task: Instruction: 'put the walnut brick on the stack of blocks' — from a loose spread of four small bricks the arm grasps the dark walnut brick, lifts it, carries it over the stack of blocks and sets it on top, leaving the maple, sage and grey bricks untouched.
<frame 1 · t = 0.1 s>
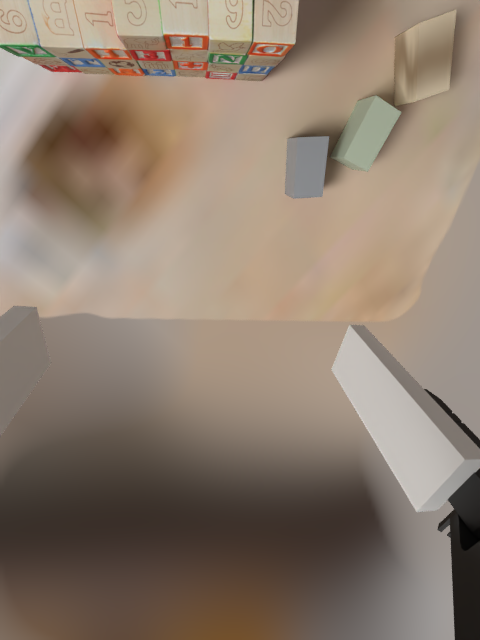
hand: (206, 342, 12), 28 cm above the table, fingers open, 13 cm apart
sage brick: (354, 137, 33), on the table
stack of blocks: (157, 36, 27), on the table
grey brick: (299, 166, 34), on the table
maple brick: (409, 68, 31), on the table
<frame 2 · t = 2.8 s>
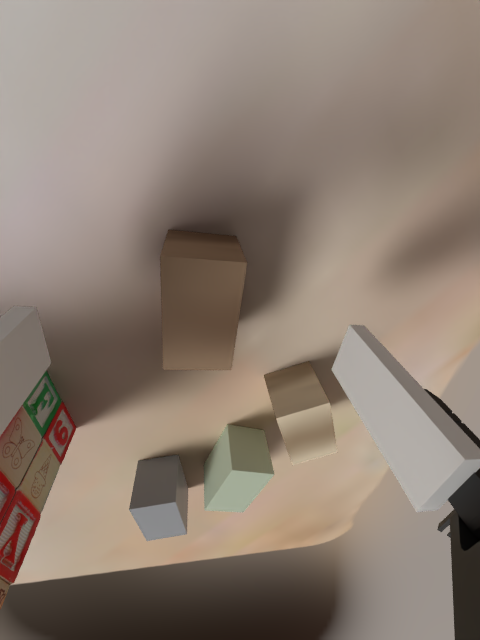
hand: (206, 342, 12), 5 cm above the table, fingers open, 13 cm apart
sage brick: (232, 446, 25), on the table
walnut brick: (199, 284, 16), on the table
grey brick: (165, 474, 26), on the table
maple brick: (292, 392, 22), on the table
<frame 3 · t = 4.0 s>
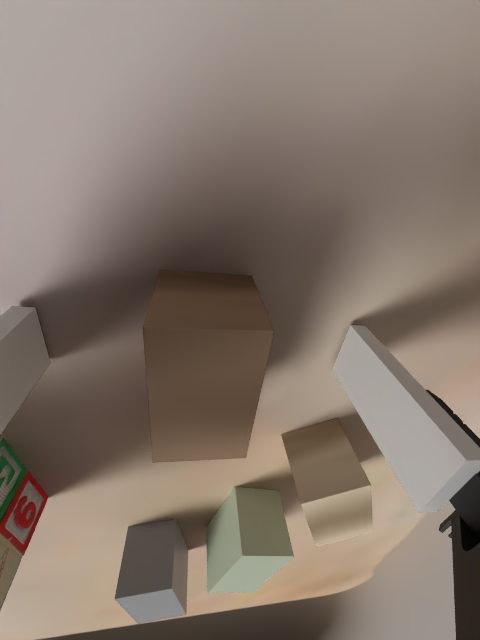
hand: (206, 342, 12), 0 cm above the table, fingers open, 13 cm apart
sage brick: (240, 507, 21), on the table
walnut brick: (203, 334, 12), on the table
grey brick: (160, 537, 22), on the table
maple brick: (314, 451, 18), on the table
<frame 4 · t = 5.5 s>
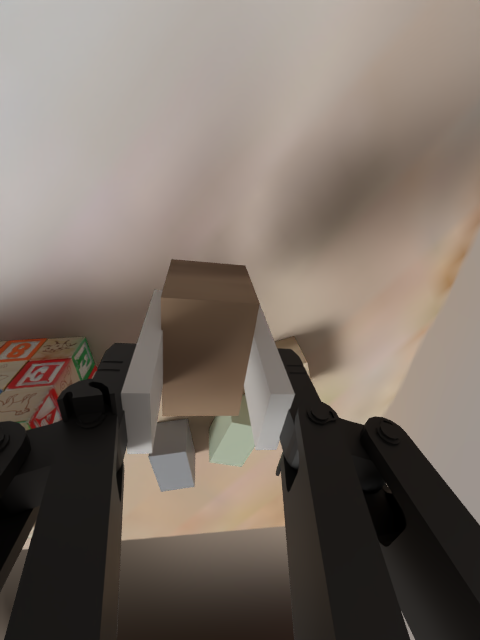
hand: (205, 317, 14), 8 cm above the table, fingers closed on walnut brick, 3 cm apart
sage brick: (233, 413, 30), on the table
walnut brick: (205, 316, 15), point 8 cm above the table, touching gripper
grey brick: (176, 438, 31), on the table
maple brick: (281, 364, 27), on the table
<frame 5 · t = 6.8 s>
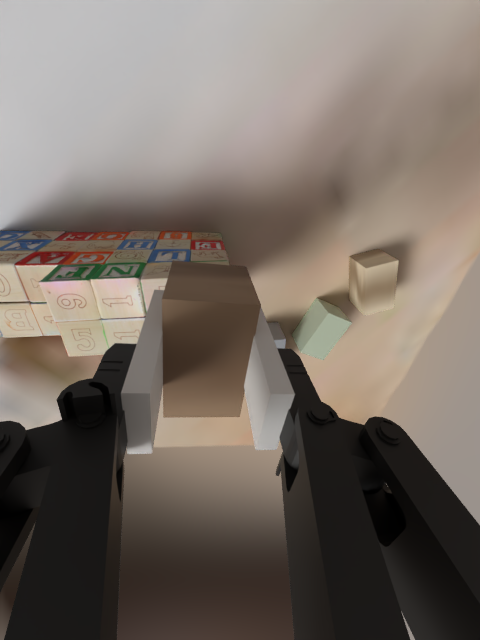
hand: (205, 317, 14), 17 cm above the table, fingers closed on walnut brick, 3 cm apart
sage brick: (314, 320, 36), on the table
walnut brick: (205, 317, 15), point 17 cm above the table, touching gripper
stack of blocks: (121, 259, 29), on the table
grey brick: (263, 341, 37), on the table
maple brick: (362, 275, 34), on the table
when the fingers open (14 cm above the table, at t = 8.4 s): walnut brick drops 1 cm, resting on stack of blocks.
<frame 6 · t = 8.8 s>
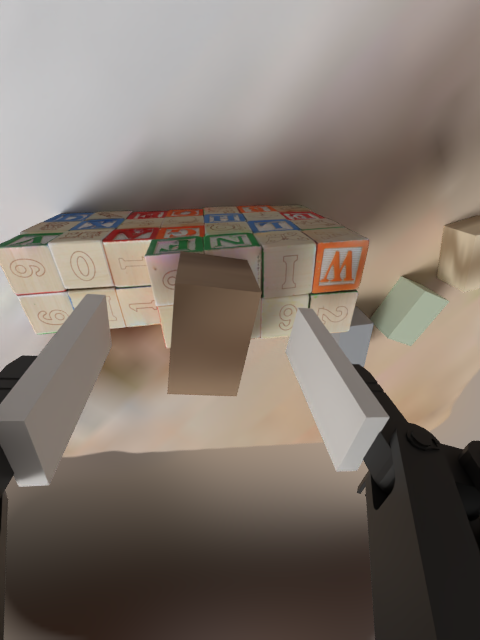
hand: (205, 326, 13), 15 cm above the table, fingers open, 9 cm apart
sage brick: (395, 302, 33), on the table
walnut brick: (207, 305, 16), point 12 cm above the table, touching stack of blocks
stack of blocks: (190, 242, 26), on the table, touching walnut brick
grey brick: (337, 328, 34), on the table
maple brick: (455, 248, 30), on the table
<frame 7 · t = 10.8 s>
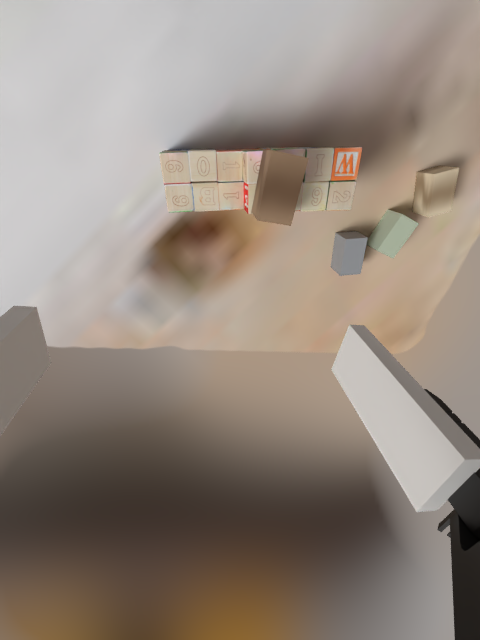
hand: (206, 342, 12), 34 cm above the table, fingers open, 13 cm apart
sage brick: (383, 230, 46), on the table
walnut brick: (272, 185, 29), point 12 cm above the table, touching stack of blocks
stack of blocks: (245, 173, 40), on the table, touching walnut brick
grey brick: (342, 249, 47), on the table
maple brick: (424, 189, 44), on the table
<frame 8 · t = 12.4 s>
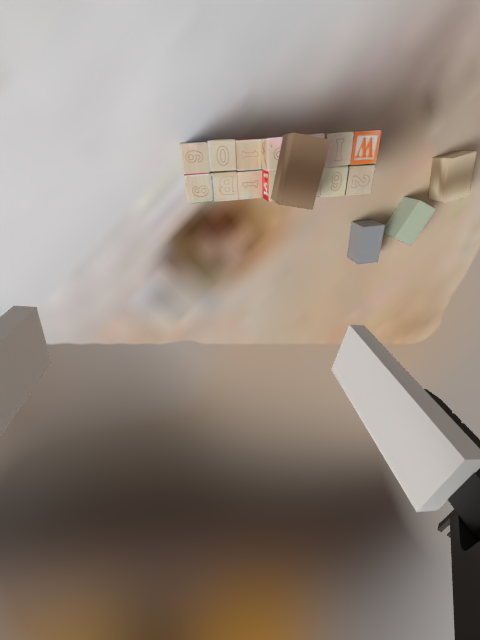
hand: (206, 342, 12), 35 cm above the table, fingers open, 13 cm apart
sage brick: (399, 218, 46), on the table
walnut brick: (292, 171, 30), point 12 cm above the table, touching stack of blocks
stack of blocks: (260, 164, 40), on the table, touching walnut brick
grey brick: (358, 238, 47), on the table
maple brick: (440, 175, 44), on the table
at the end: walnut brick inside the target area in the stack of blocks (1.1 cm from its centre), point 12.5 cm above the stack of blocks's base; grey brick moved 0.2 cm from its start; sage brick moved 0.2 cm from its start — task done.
